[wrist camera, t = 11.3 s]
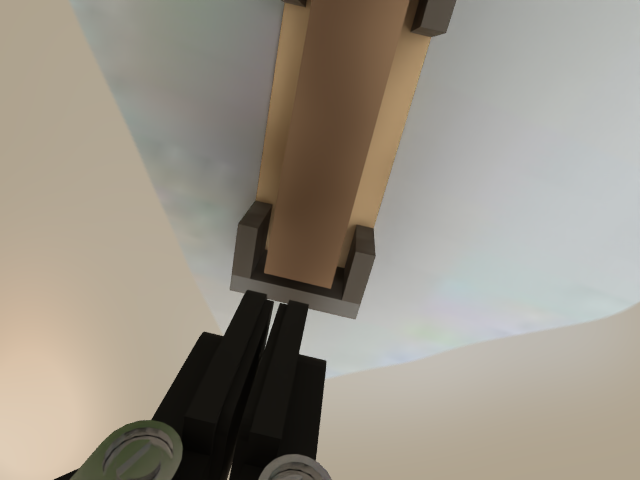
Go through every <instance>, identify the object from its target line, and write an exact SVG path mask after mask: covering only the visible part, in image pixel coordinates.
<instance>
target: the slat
mask: <svg viewBox="0 0 640 480" xmlns="http://www.w3.org/2000/svg"><path fill="white" fill-rule="evenodd" d="M408 4H409V0H312V3H311V8H310V14H309V20H308V25H307V31H306V37H305V42H304V48H303V54H302V59H301V65H300V71H299V77H298V82H297V88H296V94H295V99H294V105H293V111H292V116H291V122H290V128H289V133H288V139H287V145H286V150H285V156H284V162H283V167H282V173H281V179H280V184H279V190H278V196H277V201H276V207H275V213H274V218H273V224H272V230H271V235H270V241H269V247H268V252H267V258H266V264H265V269H264V273H266V274H270V275H275V276H279V277H283V278H287V279H291V280H296V281H300V282H304V283H308V284H312V285H317V286H321V287H325V288H329V289H331V286H332V283H333V279H334V275H335V272H336V268H337V264H338V261H339V257H340V253H341V250H342V246H343V242H344V239H345V235H346V231H347V228H348V224H349V220H350V217H351V213H352V209H353V206H354V202H355V198H356V195H357V191H358V187H359V184H360V180H361V176H362V173H363V169H364V165H365V162H366V158H367V154H368V151H369V147H370V143H371V140H372V136H373V132H374V129H375V125H376V121H377V118H378V114H379V110H380V107H381V103H382V99H383V96H384V92H385V88H386V85H387V81H388V77H389V74H390V70H391V66H392V63H393V59H394V55H395V52H396V48H397V44H398V41H399V37H400V33H401V30H402V26H403V22H404V19H405V15H406V11H407V8H408Z"/></svg>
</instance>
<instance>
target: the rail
mask: <svg viewBox="0 0 640 480" xmlns="http://www.w3.org/2000/svg"><path fill="white" fill-rule="evenodd" d="M282 1H283V2H285V4H284V11H283V17H282V24H281V31H280V38H279V45H278V52H277V58H276V65H275V72H274V79H273V86H272V93H271V99H270V106H269V113H268V120H267V127H266V134H265V140H264V147H263V154H262V161H261V168H260V174H259V181H258V188H257V195H256V201H255V202H254V203H253V205H252V206H251V207H250V209H249V210H248V211H247V213H246V214H245V216H244V217H243V218H242V220H241V221H240V222H239V224H238V229H237V237H236V245H235V253H234V261H233V268H232V276H231V284H230V290H232V291H236V292H240V293H245V292H246V291H247V290H252V291H256V292H260V293H264V294H267V299H270V300H274V301H279V302H283V303H287V304H288V302H289V300H294V301H298V302H302V303H306V304H309V307H308V308H309V309H313V310H317V311H321V312H326V313H330V314H334V315H338V316H343V317H347V318H351V319H356V316H357V313H358V310H359V307H360V304H361V300H362V297H363V294H364V291H365V288H366V285H367V281H368V278H369V275H370V272H371V269H372V266H373V262H374V259H375V243H374V225H375V222H376V218H377V215H378V212H379V208H380V205H381V202H382V198H383V195H384V192H385V188H386V185H387V182H388V179H389V175H390V172H391V169H392V165H393V162H394V159H395V155H396V152H397V149H398V145H399V142H400V139H401V135H402V132H403V129H404V126H405V122H406V119H407V116H408V112H409V109H410V106H411V102H412V99H413V96H414V92H415V89H416V86H417V83H418V79H419V76H420V73H421V69H422V66H423V63H424V59H425V56H426V53H427V49H428V46H429V43H430V39H431V37H434V36H437V35H440V34H444V33H446V31H447V28H448V25H449V22H450V19H451V15H452V12H453V9H454V6H455V3H456V0H409V4H408V8H407V11H406V15H405V19H404V22H403V26H402V30H401V33H400V37H399V41H398V44H397V48H396V52H395V55H394V59H393V63H392V66H391V70H390V74H389V77H388V81H387V85H386V88H385V92H384V96H383V99H382V103H381V107H380V110H379V114H378V118H377V121H376V125H375V129H374V132H373V136H372V140H371V143H370V147H369V151H368V154H367V158H366V162H365V165H364V169H363V173H362V176H361V180H360V184H359V187H358V191H357V195H356V198H355V202H354V206H353V209H352V213H351V217H350V220H349V224H348V228H347V231H346V235H345V239H344V242H343V246H342V250H341V253H340V257H339V261H338V264H337V268H336V272H335V275H334V279H333V283H332V286H331V289H329V288H325V287H321V286H317V285H312V284H308V283H304V282H300V281H296V280H291V279H287V278H283V277H279V276H275V275H270V274H266V273H264V269H265V264H266V258H267V252H268V247H269V241H270V235H271V230H272V224H273V218H274V213H275V207H276V201H277V196H278V190H279V184H280V179H281V173H282V167H283V162H284V156H285V150H286V145H287V139H288V133H289V128H290V122H291V116H292V111H293V105H294V99H295V94H296V88H297V82H298V77H299V71H300V65H301V59H302V54H303V48H304V42H305V37H306V31H307V25H308V20H309V14H310V8H311V3H312V0H282Z"/></svg>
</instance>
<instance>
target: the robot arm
mask: <svg viewBox="0 0 640 480" xmlns="http://www.w3.org/2000/svg"><path fill="white" fill-rule="evenodd" d="M273 305H274V301H270V300H267V294H264V293H260V292H256V291H252V290H247V291H246V292H245V294H244V296H243V298H242V300H241V302H240V304H239V306H238V308H237V310H236V312H235V314H234V316H233V319H232V321H231V323H230V325H229V327H228V329H227V331H226V333H225V335H224V336H220V335H216V334H211V333H207V332H203V333H202V335H201V336H200V337H199V339H198V340H197V342H196V344H195V346H194V347H193V349H192V351H191V353H190V354H189V356H188V358H187V359H186V361H185V363H184V365H183V366H182V368H181V370H180V371H179V373H178V375H177V377H176V378H175V380H174V382H173V384H172V385H171V387H170V389H169V390H168V392H167V394H166V396H165V397H164V399H163V401H162V402H161V404H160V406H159V407H158V409H157V411H156V413H155V414H154V416H153V418H152V420H146V421H145V420H143V421H137V422H134V423H130V424H127V425H125V426H123V427H121V428H119V429H118V430H116V431H114V432H113V433H112V434H111V435H109V437H107V438H106V439H105V440H104V441H103V442H102V443H101V444H100V445H99V447H98V448H97V449H96V450H95V451H94V452H93V453H92V455H91V456H90V457H89V458H88V459H87V460H86V461H85V463H84V464H83V465H82V466H81V467H80V468H79V469H77V470H74V471H72V472H70V473H68V474H65V475H63V476H61V477H59V478H56V479H54V480H227V478H228V474H229V471H230V468H231V465H232V468H231V473H230V478H229V480H332V479H331V477H330V475H329V474H328V472H327V471H326V470H325V469H324V468H323V467H322V466H321V465H320V464H319V463H318V462H316V453H317V444H318V435H319V425H320V417H321V407H322V399H323V390H324V381H325V372H326V361H325V360H321V359H317V358H313V357H308V356H304V355H300V354H299V350H300V345H301V340H302V336H303V331H304V326H305V321H306V317H307V312H308V307H309V304H306V303H302V302H298V301H294V300H289V302H288V305H287V304H282V303H280V305H279V307H278V311H277V314H276V317H275V320H274V323H273V326H272V329H271V332H270V335H269V338H268V341H267V344H266V340H267V335H268V330H269V325H270V320H271V315H272V310H273ZM265 345H266V347H265ZM264 349H265V350H264Z"/></svg>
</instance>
